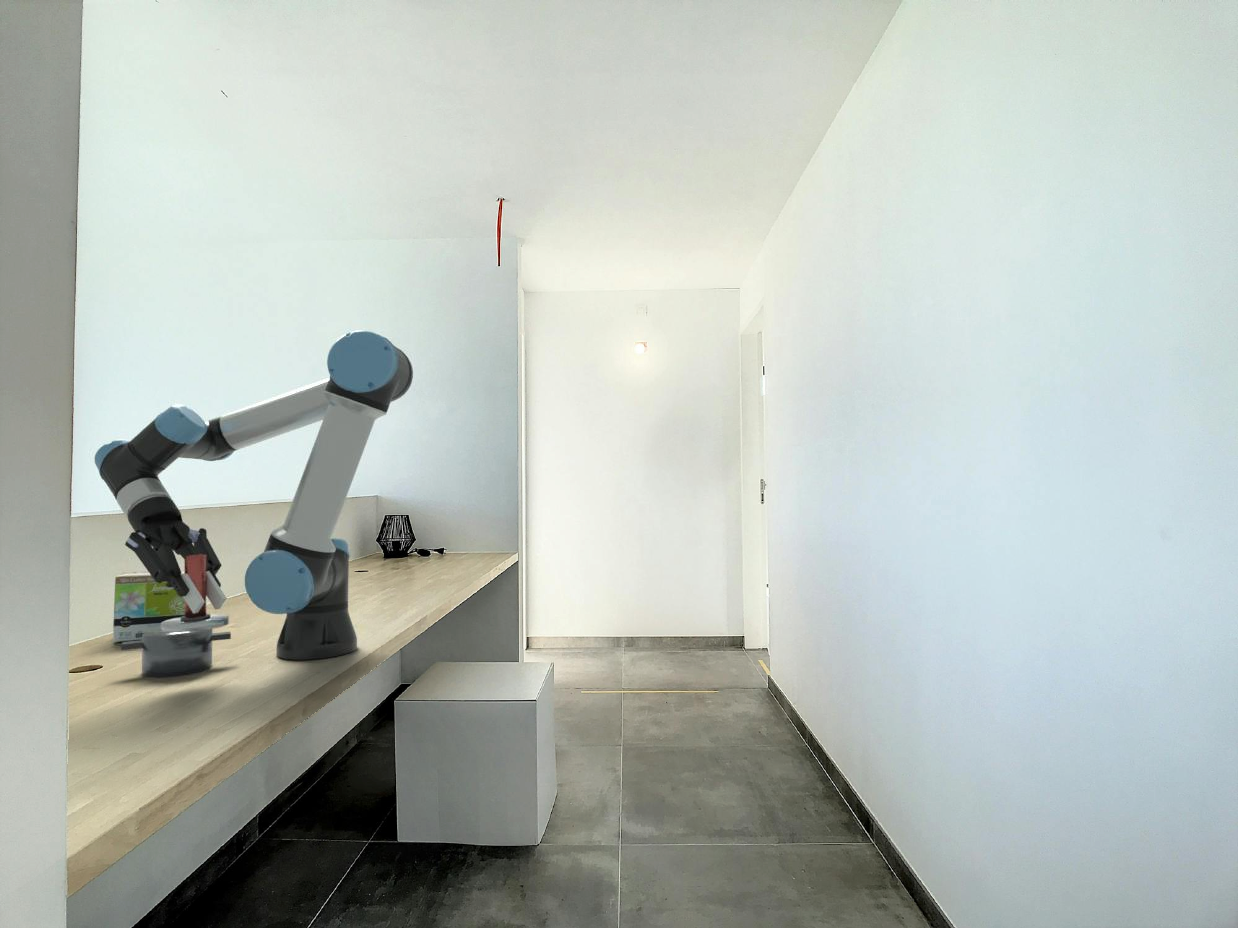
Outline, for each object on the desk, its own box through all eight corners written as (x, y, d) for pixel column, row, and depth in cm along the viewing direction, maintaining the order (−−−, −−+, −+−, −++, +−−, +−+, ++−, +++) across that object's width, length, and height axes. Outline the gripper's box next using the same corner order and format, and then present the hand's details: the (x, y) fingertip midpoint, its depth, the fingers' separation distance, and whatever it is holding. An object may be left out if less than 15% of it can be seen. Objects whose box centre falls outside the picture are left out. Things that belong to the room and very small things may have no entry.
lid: (241, 620, 125) (240, 551, 125) (203, 631, 115) (203, 557, 115) (188, 621, 126) (188, 553, 126) (146, 632, 116) (146, 558, 116)
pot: (228, 657, 139) (229, 621, 139) (231, 669, 129) (231, 630, 130) (124, 669, 130) (124, 631, 130) (118, 682, 120) (119, 641, 121)
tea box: (112, 644, 153) (113, 576, 153) (120, 635, 162) (121, 571, 162) (192, 636, 160) (193, 571, 160) (195, 629, 169) (196, 567, 169)
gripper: (185, 521, 135) (243, 612, 127) (91, 526, 120) (151, 629, 112) (203, 493, 133) (263, 584, 125) (109, 495, 118) (171, 597, 110)
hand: (210, 605), depth 119 cm, fingers closed on lid, 3 cm apart
